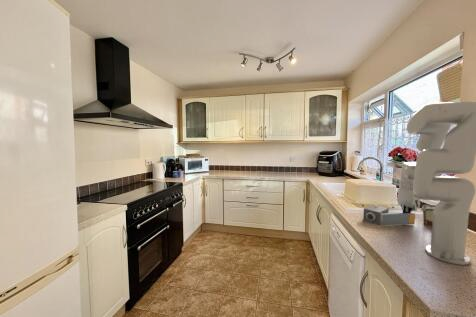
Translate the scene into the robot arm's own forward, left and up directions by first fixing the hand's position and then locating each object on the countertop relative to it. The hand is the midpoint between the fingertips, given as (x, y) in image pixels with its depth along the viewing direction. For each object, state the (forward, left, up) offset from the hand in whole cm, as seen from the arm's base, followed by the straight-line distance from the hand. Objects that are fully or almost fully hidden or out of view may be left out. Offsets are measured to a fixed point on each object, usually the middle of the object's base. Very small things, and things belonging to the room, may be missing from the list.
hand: (406, 217), depth 115 cm
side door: (-8, +2, -3) cm, 8 cm away
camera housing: (-9, +11, -3) cm, 15 cm away
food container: (+9, -9, -3) cm, 13 cm away
